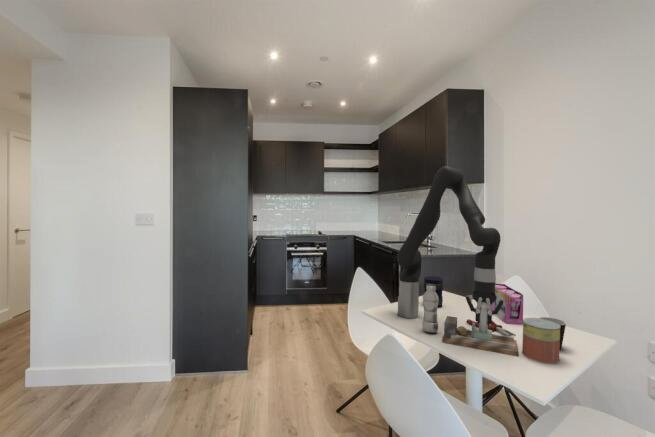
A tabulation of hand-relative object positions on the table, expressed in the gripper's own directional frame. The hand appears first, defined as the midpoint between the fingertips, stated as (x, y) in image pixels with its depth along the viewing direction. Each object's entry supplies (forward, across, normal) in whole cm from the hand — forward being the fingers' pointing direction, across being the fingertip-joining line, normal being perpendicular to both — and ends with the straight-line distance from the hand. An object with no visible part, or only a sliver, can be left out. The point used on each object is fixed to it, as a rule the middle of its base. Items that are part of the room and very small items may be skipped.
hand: (483, 323), depth 127 cm
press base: (+8, -1, 0) cm, 8 cm away
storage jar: (+8, -25, +43) cm, 51 cm away
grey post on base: (+6, 0, 0) cm, 6 cm away
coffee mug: (+8, +24, +11) cm, 27 cm away
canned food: (+8, +19, -2) cm, 21 cm away
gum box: (+8, +9, +42) cm, 44 cm away
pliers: (+9, +2, +19) cm, 21 cm away
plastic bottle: (+8, -20, +3) cm, 22 cm away
